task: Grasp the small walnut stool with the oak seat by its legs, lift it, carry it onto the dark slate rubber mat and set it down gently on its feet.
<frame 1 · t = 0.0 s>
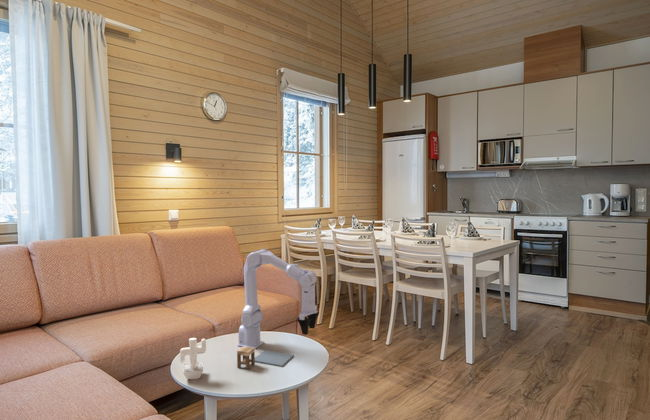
hand: (308, 331, 180), 10 cm above the table, tool pointing down, fingers open, 7 cm apart
stool: (246, 366, 169), on the table
figurine: (193, 377, 160), on the table
slate mat: (273, 358, 176), on the table
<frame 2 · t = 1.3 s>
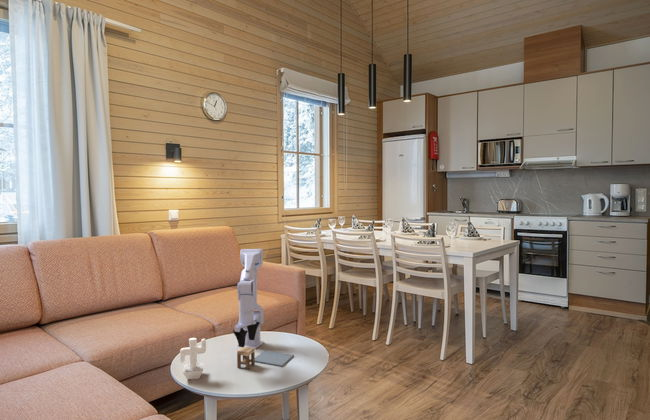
hand: (246, 343, 169), 9 cm above the table, tool pointing down, fingers open, 7 cm apart
nothing on the table moved.
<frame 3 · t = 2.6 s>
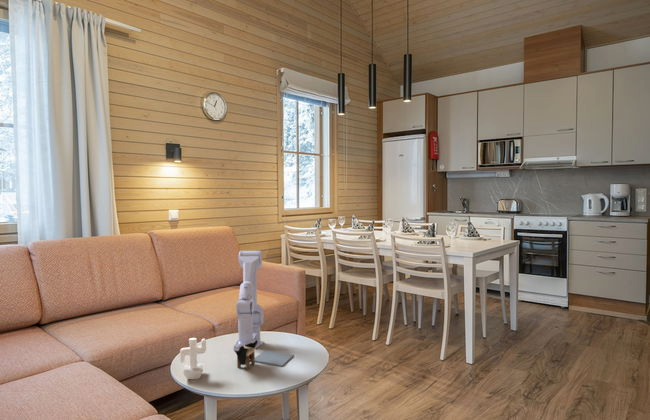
hand: (246, 361, 169), 2 cm above the table, tool pointing down, fingers closed on stool, 5 cm apart
stool: (246, 366, 169), on the table, touching gripper
everything else where it was.
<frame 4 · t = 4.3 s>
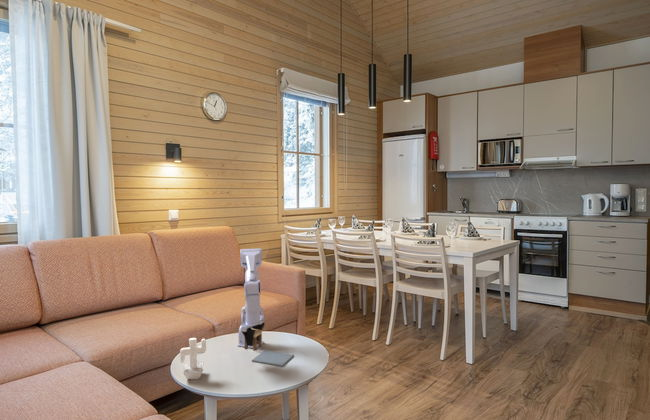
hand: (253, 342, 171), 9 cm above the table, tool pointing down, fingers closed on stool, 5 cm apart
stool: (253, 347, 171), point 7 cm above the table, touching gripper
everything else where it was.
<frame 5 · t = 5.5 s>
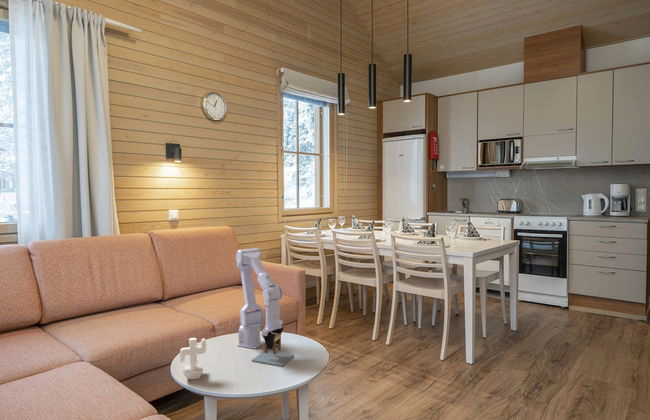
hand: (273, 346, 176), 5 cm above the table, tool pointing down, fingers closed on stool, 5 cm apart
stool: (272, 351, 176), point 3 cm above the table, touching gripper
everything else where it was.
when the fingers open (4 cm above the table, at t = 6.3 s): stool stays where it is, resting on slate mat.
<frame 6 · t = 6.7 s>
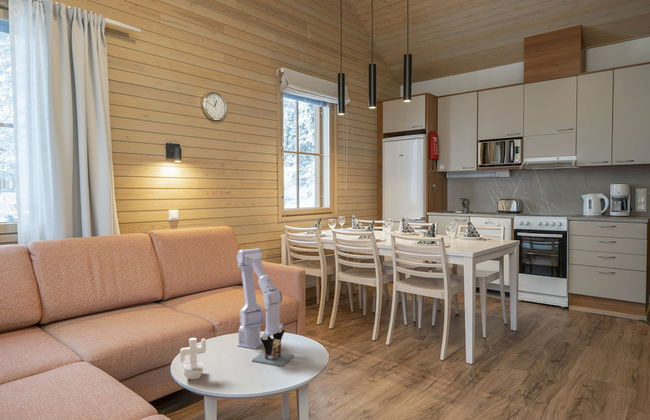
hand: (273, 350, 176), 4 cm above the table, tool pointing down, fingers open, 7 cm apart
stool: (273, 357, 176), point 1 cm above the table, touching slate mat
everything else where it was.
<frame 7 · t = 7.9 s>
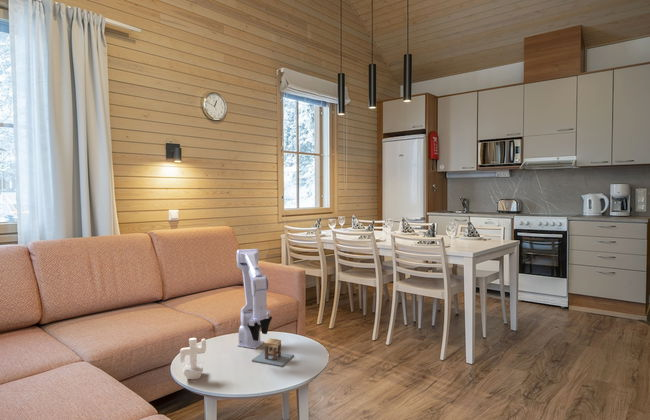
hand: (260, 336, 176), 9 cm above the table, tool pointing down, fingers open, 7 cm apart
nothing on the table moved.
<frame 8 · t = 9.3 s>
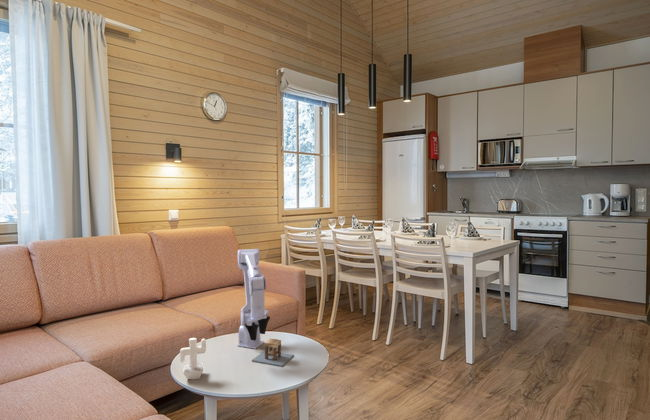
hand: (258, 336, 176), 9 cm above the table, tool pointing down, fingers open, 7 cm apart
nothing on the table moved.
at the end: stool inside the target area on the slate mat (0.1 cm from its centre), point 0.6 cm above the slate mat's base; stool tilted 0°; the gripper is holding nothing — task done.
